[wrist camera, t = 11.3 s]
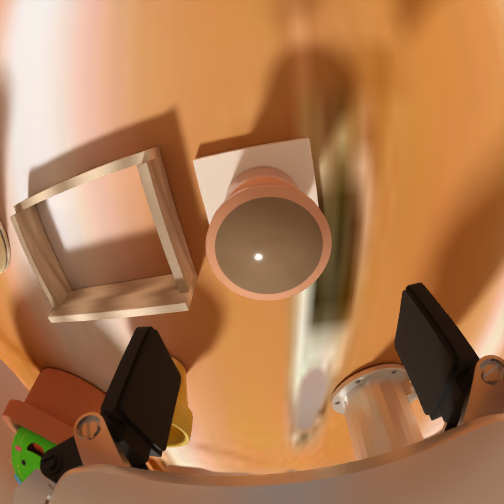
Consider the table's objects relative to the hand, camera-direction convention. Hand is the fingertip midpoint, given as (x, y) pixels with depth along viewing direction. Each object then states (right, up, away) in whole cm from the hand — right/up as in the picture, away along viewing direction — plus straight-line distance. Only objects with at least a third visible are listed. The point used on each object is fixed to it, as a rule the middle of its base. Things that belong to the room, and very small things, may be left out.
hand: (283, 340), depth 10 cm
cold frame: (-16, +5, +14) cm, 22 cm away
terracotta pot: (0, +7, +12) cm, 14 cm away
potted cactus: (-33, -24, +30) cm, 50 cm away
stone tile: (0, +8, +13) cm, 15 cm away
